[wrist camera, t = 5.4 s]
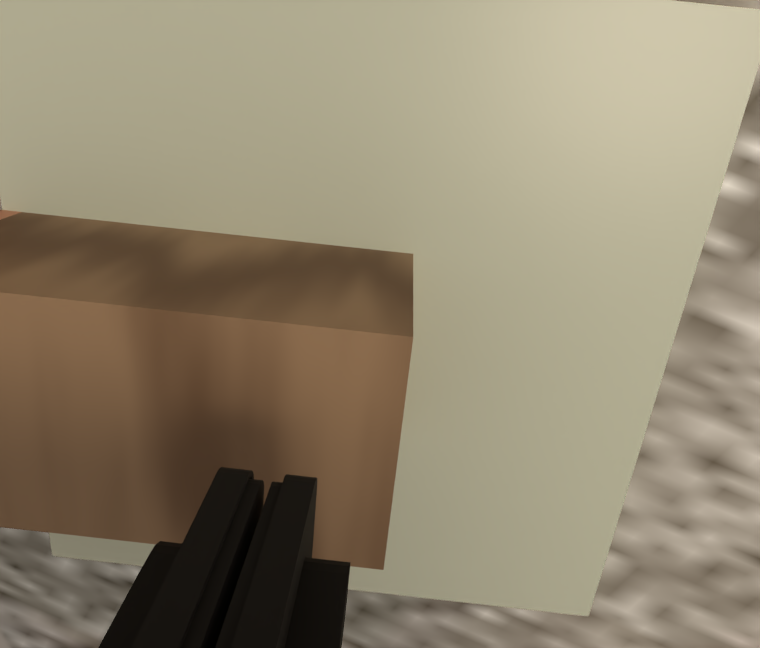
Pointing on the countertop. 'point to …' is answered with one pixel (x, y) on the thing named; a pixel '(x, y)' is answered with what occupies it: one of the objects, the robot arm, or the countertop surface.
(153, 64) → the mat
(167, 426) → the copper block
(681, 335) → the countertop surface
